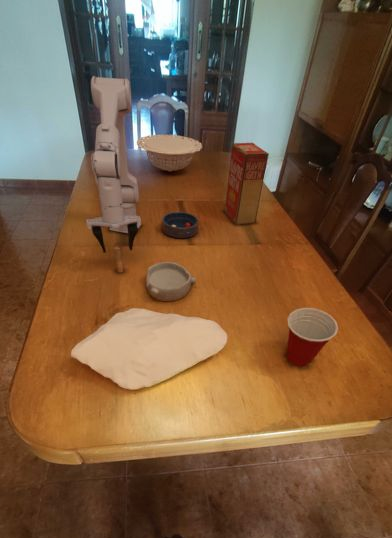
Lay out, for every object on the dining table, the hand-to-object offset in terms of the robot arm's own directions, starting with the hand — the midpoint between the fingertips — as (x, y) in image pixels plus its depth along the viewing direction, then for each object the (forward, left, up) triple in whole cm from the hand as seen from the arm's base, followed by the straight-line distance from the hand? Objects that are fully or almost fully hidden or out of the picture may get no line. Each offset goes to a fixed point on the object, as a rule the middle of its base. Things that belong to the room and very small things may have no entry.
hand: (117, 249), depth 94 cm
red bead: (+13, +34, -6) cm, 37 cm away
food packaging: (+31, +52, -8) cm, 61 cm away
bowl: (+11, +32, -7) cm, 35 cm away
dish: (+17, -4, -8) cm, 19 cm away
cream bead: (+9, +30, -6) cm, 32 cm away
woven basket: (-10, +91, -8) cm, 92 cm away
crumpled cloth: (+20, -30, -8) cm, 37 cm away
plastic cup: (+55, -22, -8) cm, 60 cm away
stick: (0, 0, -7) cm, 7 cm away
